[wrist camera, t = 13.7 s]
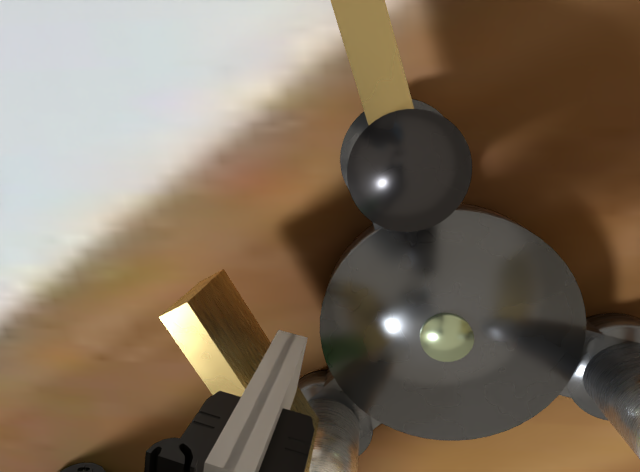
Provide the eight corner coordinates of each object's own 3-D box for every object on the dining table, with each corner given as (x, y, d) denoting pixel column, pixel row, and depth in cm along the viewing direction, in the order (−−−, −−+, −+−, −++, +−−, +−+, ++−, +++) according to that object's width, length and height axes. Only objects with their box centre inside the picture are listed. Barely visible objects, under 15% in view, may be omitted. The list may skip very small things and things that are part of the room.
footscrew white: (371, 441, 20) (370, 548, 15) (315, 460, 21) (295, 567, 16) (253, 249, 18) (204, 296, 13) (196, 279, 19) (129, 334, 14)
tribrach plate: (356, 90, 17) (353, 84, 15) (767, 176, 16) (831, 184, 14) (282, 428, 23) (272, 460, 21) (577, 513, 22) (600, 556, 19)
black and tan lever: (450, 185, 16) (485, 212, 11) (370, 210, 17) (367, 245, 12) (364, -138, 14) (356, -305, 8) (274, -92, 14) (217, -217, 9)
